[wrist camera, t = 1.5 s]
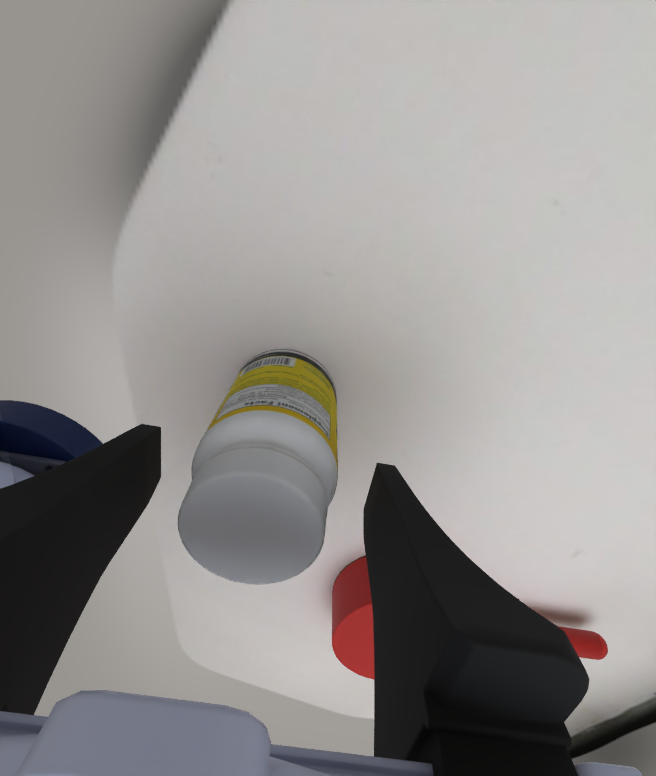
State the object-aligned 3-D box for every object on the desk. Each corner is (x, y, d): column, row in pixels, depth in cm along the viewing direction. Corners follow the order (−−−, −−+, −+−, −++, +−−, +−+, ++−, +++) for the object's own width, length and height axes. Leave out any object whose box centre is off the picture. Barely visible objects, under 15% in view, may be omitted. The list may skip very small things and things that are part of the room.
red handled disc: (323, 622, 25) (321, 673, 22) (344, 542, 22) (346, 590, 19) (564, 655, 26) (591, 708, 23) (616, 583, 23) (654, 635, 20)
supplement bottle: (299, 455, 19) (275, 617, 12) (215, 405, 18) (131, 549, 11) (358, 385, 18) (374, 520, 10) (270, 325, 17) (214, 428, 9)
